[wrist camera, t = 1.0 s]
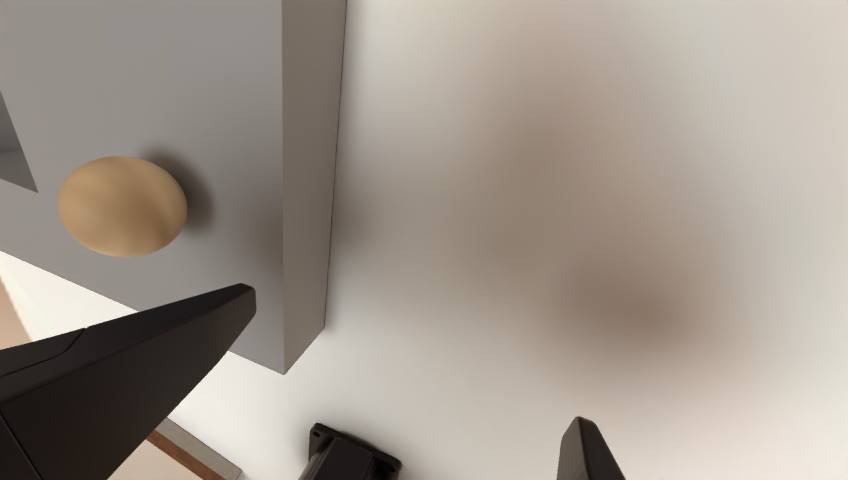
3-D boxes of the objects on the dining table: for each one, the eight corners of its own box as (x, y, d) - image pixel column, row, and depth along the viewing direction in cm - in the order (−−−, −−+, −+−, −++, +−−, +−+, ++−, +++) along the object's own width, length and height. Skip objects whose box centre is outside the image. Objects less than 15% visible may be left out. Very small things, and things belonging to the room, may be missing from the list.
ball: (214, 242, 15) (129, 290, 12) (145, 217, 16) (48, 255, 13) (204, 160, 13) (101, 192, 10) (127, 135, 14) (10, 158, 11)
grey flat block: (324, 328, 20) (284, 375, 18) (30, 209, 24) (-43, 231, 22) (347, -17, 12) (281, -37, 9) (-96, -109, 16) (-241, -145, 13)
